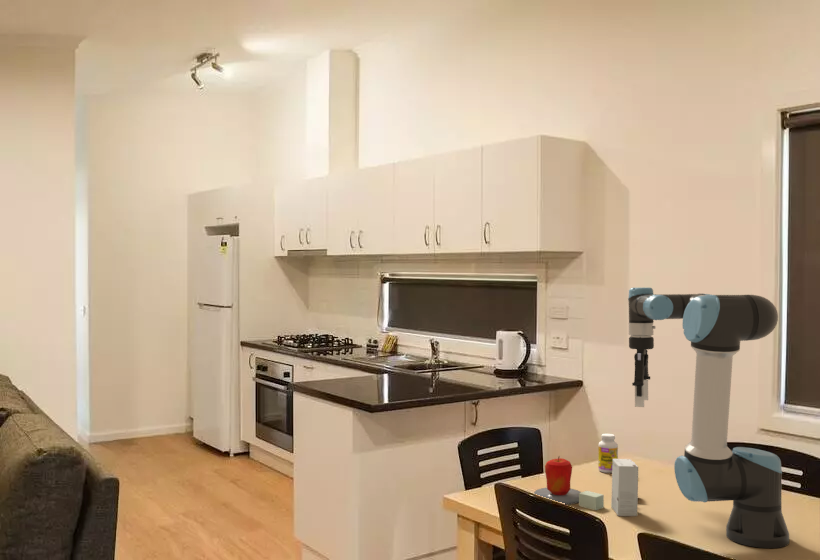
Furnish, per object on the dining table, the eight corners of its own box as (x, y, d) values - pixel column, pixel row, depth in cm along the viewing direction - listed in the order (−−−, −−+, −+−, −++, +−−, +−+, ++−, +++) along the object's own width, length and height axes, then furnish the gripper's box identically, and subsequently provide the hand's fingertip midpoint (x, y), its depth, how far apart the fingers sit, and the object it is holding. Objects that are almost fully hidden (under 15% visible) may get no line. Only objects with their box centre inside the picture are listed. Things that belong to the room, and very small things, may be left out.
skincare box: (610, 507, 230) (610, 458, 230) (631, 507, 230) (630, 458, 230) (618, 516, 222) (617, 465, 222) (639, 516, 222) (638, 465, 222)
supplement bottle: (598, 472, 270) (597, 436, 270) (598, 468, 277) (598, 432, 277) (617, 473, 269) (617, 437, 269) (618, 469, 275) (617, 433, 275)
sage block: (595, 510, 228) (595, 497, 228) (579, 506, 232) (578, 493, 232) (603, 508, 231) (603, 494, 231) (586, 503, 235) (586, 490, 235)
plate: (578, 506, 232) (578, 502, 232) (529, 501, 237) (529, 497, 237) (586, 493, 245) (586, 489, 245) (540, 488, 251) (540, 485, 251)
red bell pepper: (556, 488, 248) (556, 451, 247) (578, 493, 241) (577, 455, 241) (539, 493, 242) (539, 455, 242) (561, 499, 236) (560, 460, 235)
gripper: (650, 339, 231) (650, 410, 231) (656, 333, 254) (657, 397, 254) (624, 339, 234) (624, 409, 234) (633, 333, 257) (633, 396, 257)
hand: (641, 403), depth 244 cm, fingers open, 13 cm apart
